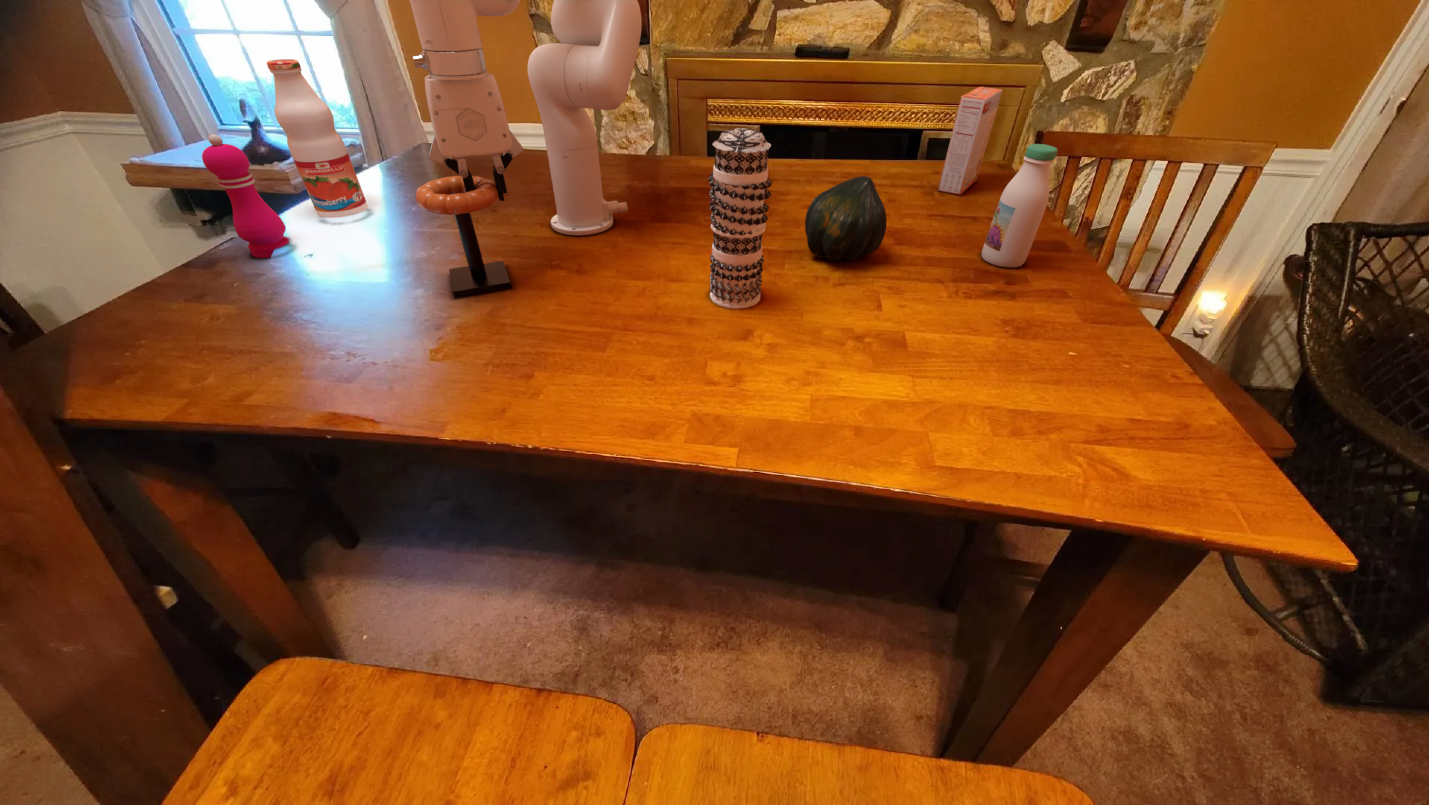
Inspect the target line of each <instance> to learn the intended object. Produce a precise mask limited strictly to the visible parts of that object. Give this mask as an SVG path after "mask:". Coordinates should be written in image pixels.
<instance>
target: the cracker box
mask: <svg viewBox="0 0 1429 805" xmlns="http://www.w3.org/2000/svg"><path fill="white" fill-rule="evenodd" d="M1002 93H1003V89H1001V88H994V87H987V86H978V87H976V88H974V89H973V90H970V91H969V92H967V93H965V94H963V95H961V96H960V100H959V103H958V108H957V111H956V115H955V120H954V123H953V128H952V131H951V136H950V139H949V140H950V141H949V144H948V148H947V152H946V156H945V160H944V163H943V167H942V172H941V178H940V181H939V184H938V189H937V191H938V192H941V193H947V194H952V195H957V196H961V195H962V194H964V193H965V191H967V190H968V189H969V188H970V187H971V186H972V185H973V184H974V183H975V182H976V181H977V179H978V176H979V172H980V170H981V166H982V162H983V159H984V155H985V153H986V149H987V145H988V142H989V138H990V135H991V132H992V127H993V124H994V120H995V117H996V114H997V111H998V107H999V104H1000V100H1001V96H1002Z"/></svg>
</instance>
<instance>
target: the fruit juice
mask: <svg viewBox="0 0 1429 805" xmlns="http://www.w3.org/2000/svg"><path fill="white" fill-rule="evenodd" d="M266 66H267V69H268V70H269V72H270V73H271V74H272V75H273V79H274V80H273V81H274V94H275V95H274V96H275V104H274V109H273V110H274V111H273V112H274V116H275V120H276V122H277V123H278V124H279V126H280V128H281V129H282V130H283V132H284V133H285V135H286V142H287V147H288V150H289V153H290V155H291V158H292V160H293V162H294V164H295V167H296V169H297V172H298V173H299V176H300V178H301V181H302V182H303V185H304V187H305V189H306V192H307V194H308V196H309V198H310V201H311V203H312V205H313V208H314V210H315V213H316V214H317V216H319V217H322V218H328V219H331V218H332V219H334V218H336V219H337V218H345V217H350V216H354V215H357V214H360V213H362V212H364V211H366V210H367V209H368V208H369V205H368V202H367V200H366V197H365V194H364V192H363V189H362V186H361V183H360V181H359V179H358V176H357V172H356V171H355V168H354V165H353V163H352V161H351V157H350V155H349V152H348V149H347V147H346V144H345V142H344V140H343V138H342V136H341V135H340V134H339V133H338V132H337V130H336V127H335V119H334V115H333V113H332V110H331V108H330V107H329V106H328V105H327V103H326V102H324V101H323V100H322V99H321V97H319V95H318V94H317V93H316V91H315V90H314V89H313V88H312V86H311V85H310V84H309V82H308V81H307V80H306V78H305V77H304V75H303V74H302V68H301V67H302V66H301V64H300V62H299V61H298V59H292V58H285V59H284V58H282V59H271V60H267V61H266Z"/></svg>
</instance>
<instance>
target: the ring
mask: <svg viewBox="0 0 1429 805" xmlns="http://www.w3.org/2000/svg"><path fill="white" fill-rule="evenodd" d="M472 177H473V181H474V185H475V189H476V190H473V191H470V192H466V190H465V186H464V182H463V178H462V177H461V176H460V175H454V176H445V177H441V178H437V179H433V180H430V181H427V182H425V183H424V184H422V185H421V186H419V187H418V188H417V189H416V190H415V191H416V192H415V200H416V204H417V205H418V207H419V208H421V209H422V210H424V211H427V212H429V213H431V214H435V215H448V216H454V215H456V214H464V213H470V214H471V213H475V212H478V211H481V210H485V209H487V208H489V207H490V206H491V205H493V204H494V203H495V202H497V200H498V199H499V197H498V191H497V188H496V186H495V182H494V181H492V180H491V179H487V178H484V177H481V176H477V175H472Z"/></svg>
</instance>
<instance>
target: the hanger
mask: <svg viewBox="0 0 1429 805" xmlns="http://www.w3.org/2000/svg"><path fill="white" fill-rule="evenodd" d="M453 216H454V219H455V223H456V226H457V227H456V228H457V230H458V234H459V237H460V241H461V245H462V247H463V251H464V255H465V259H466V262H467V266H465V265H464V266H460V267H459V266H458V267H453V268H449V269H448V270H449V271H448V272H449V279H450V285H451V290H452V295H453V298H454V299H458V298H464V297H469V296H475V295H482V294H488V293H492V292H499V291H505V290H510V289H512V283H511V279H510V277H509V274H508V271H507V268H506V265H505V262H504V260H499V261H491V262H485V263H484V260H483V256H482V252H481V247H480V244H479V240H478V237H477V233H476V230H475V225H474V222H473V221H474V220H473V218H472V214H471V213H464V214H456V215H453Z"/></svg>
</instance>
